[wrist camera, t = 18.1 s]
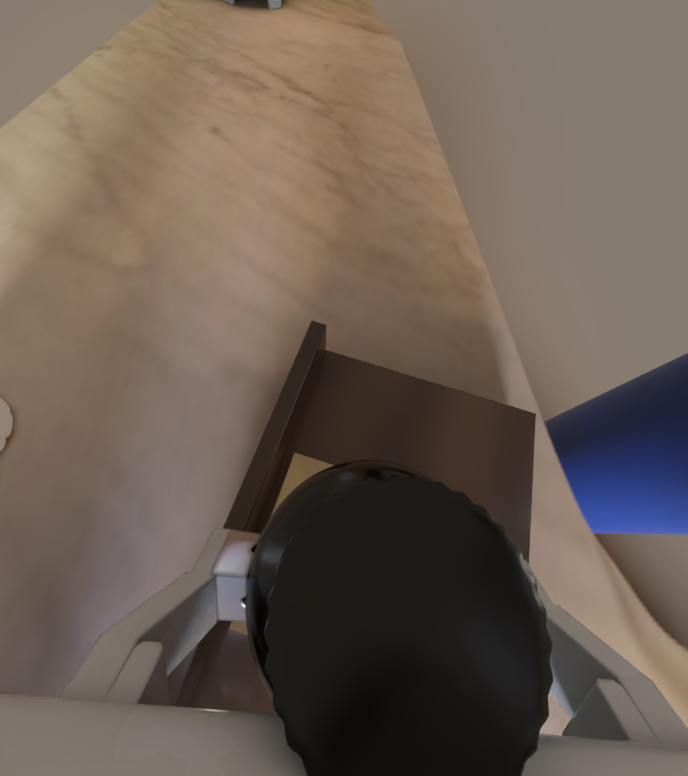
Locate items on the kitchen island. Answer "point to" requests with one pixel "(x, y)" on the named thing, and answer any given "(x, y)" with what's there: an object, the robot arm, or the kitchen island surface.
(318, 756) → the supplement bottle
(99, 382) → the kitchen island surface
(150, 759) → the robot arm
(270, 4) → the blender
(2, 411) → the water bottle
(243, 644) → the shelf
